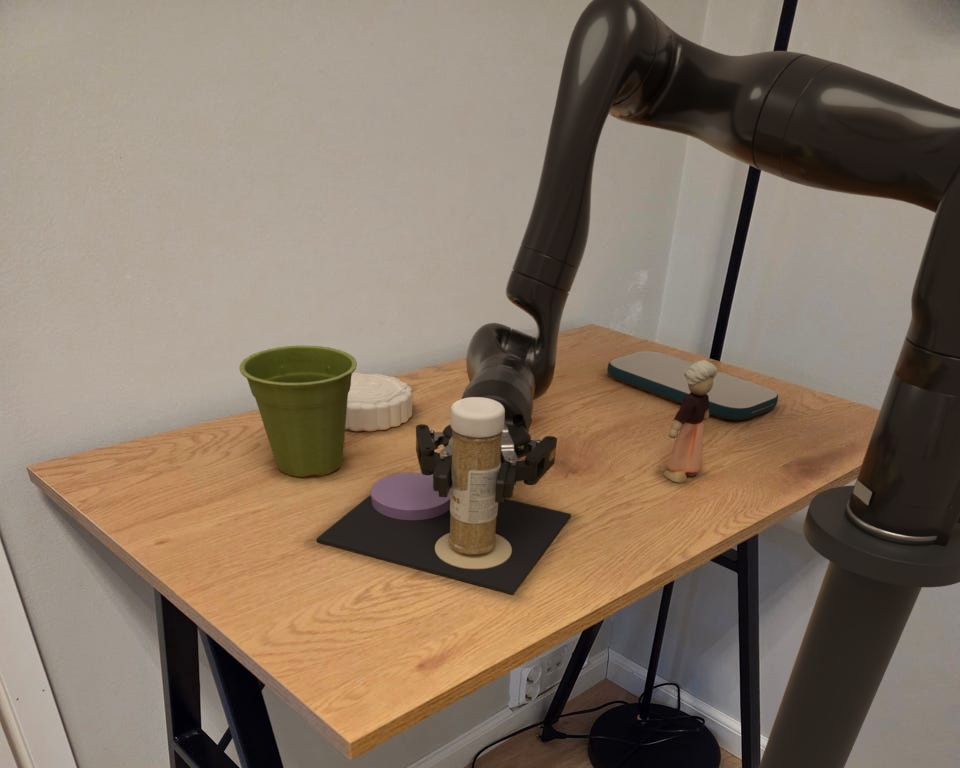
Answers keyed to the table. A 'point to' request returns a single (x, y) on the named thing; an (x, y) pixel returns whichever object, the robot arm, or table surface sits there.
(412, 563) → the table mat
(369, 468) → the table surface
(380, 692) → the table surface
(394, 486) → the lilac disc
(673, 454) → the grandmother figurine
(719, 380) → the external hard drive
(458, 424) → the spice jar
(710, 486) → the table surface
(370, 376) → the mooncake
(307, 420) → the plant pot
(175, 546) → the table surface
